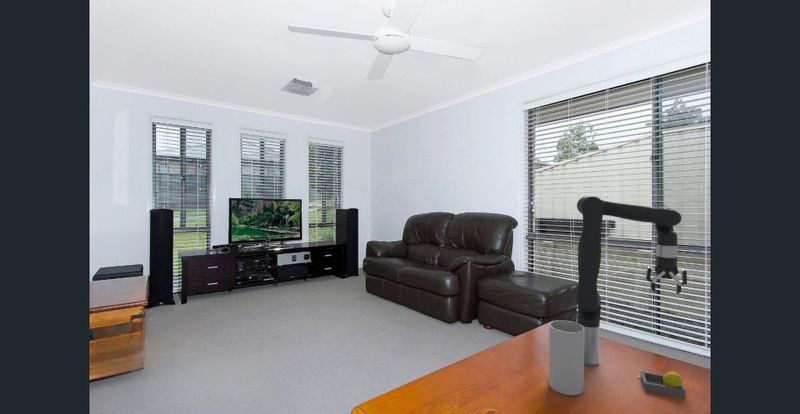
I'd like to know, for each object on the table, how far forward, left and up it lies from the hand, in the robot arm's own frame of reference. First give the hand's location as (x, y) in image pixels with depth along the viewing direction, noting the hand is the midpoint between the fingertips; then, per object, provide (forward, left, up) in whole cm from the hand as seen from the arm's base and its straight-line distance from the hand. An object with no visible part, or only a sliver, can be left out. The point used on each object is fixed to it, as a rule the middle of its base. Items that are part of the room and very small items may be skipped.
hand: (665, 292), depth 161 cm
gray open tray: (-4, -21, -33) cm, 39 cm away
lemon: (-2, -20, -32) cm, 38 cm away
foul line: (-4, -15, -33) cm, 36 cm away
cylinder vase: (-38, -36, -33) cm, 62 cm away
